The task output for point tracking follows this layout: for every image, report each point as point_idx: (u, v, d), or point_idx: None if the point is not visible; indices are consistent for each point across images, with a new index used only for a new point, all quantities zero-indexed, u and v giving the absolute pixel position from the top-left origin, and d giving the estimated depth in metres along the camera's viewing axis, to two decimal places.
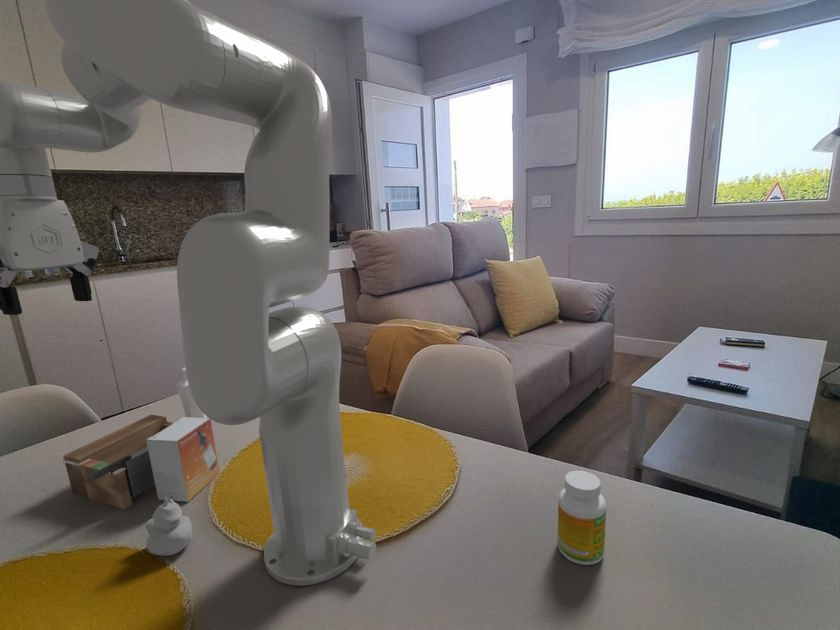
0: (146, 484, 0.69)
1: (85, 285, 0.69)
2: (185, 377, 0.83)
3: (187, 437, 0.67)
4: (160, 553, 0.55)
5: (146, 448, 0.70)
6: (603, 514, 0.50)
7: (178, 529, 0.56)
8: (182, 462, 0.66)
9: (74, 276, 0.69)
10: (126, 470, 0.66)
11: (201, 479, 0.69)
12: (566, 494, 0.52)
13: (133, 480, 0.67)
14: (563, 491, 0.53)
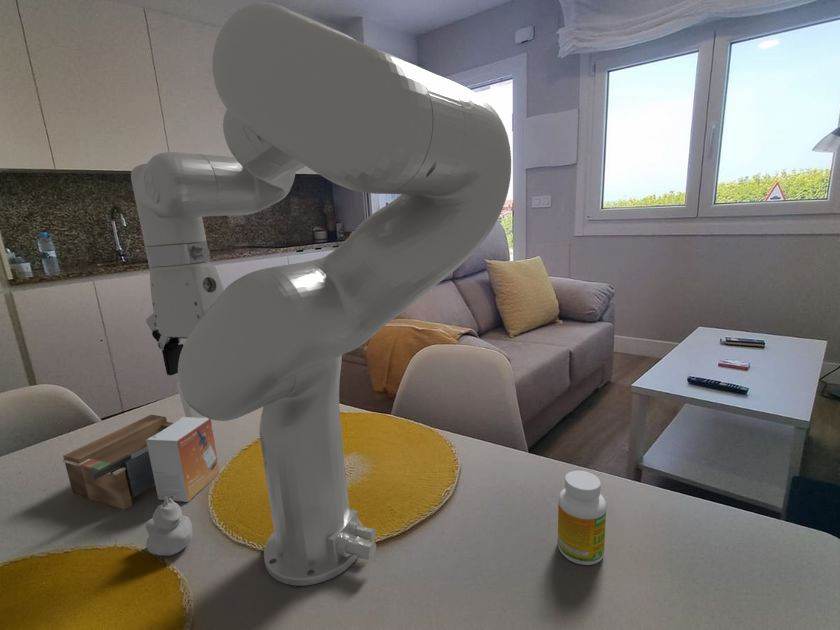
0: (146, 484, 0.69)
1: None
2: None
3: (187, 437, 0.67)
4: (160, 553, 0.55)
5: (146, 448, 0.70)
6: (603, 514, 0.50)
7: (178, 529, 0.56)
8: (182, 462, 0.66)
9: (170, 347, 0.64)
10: (126, 470, 0.66)
11: (201, 479, 0.69)
12: (566, 494, 0.52)
13: (133, 480, 0.67)
14: (563, 491, 0.53)
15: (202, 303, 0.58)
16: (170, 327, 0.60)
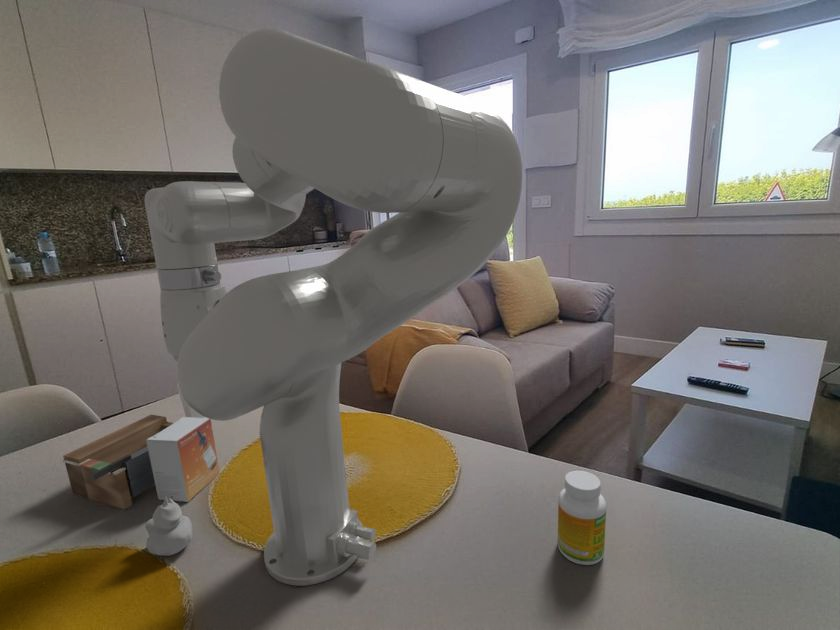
0: (146, 484, 0.69)
1: None
2: None
3: (187, 437, 0.67)
4: (160, 553, 0.55)
5: (146, 448, 0.70)
6: (603, 514, 0.50)
7: (178, 529, 0.56)
8: (182, 462, 0.66)
9: None
10: (126, 470, 0.66)
11: (201, 479, 0.69)
12: (566, 494, 0.52)
13: (133, 480, 0.67)
14: (563, 491, 0.53)
15: None
16: (179, 347, 0.61)
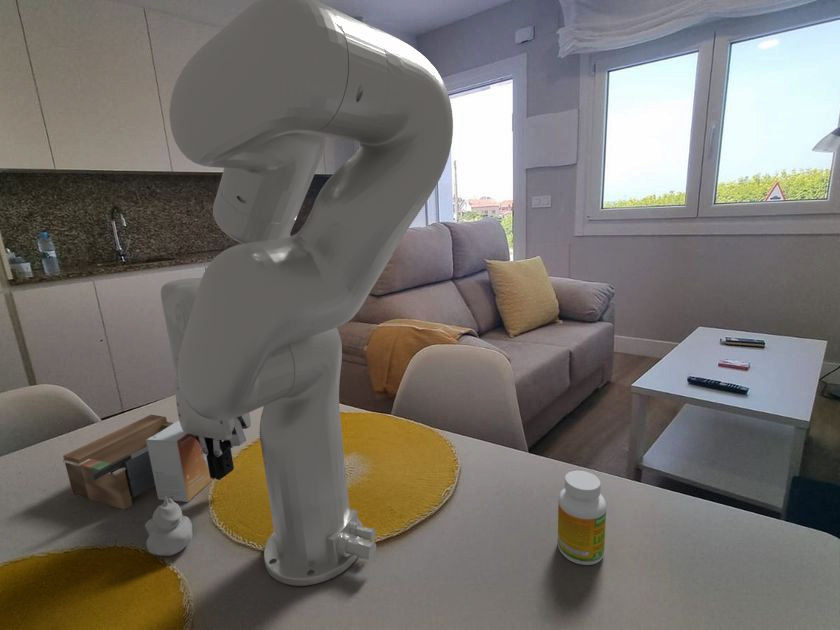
0: (146, 484, 0.69)
1: None
2: None
3: (187, 437, 0.67)
4: (160, 553, 0.55)
5: (146, 448, 0.70)
6: (603, 514, 0.50)
7: (178, 529, 0.56)
8: (182, 462, 0.66)
9: (214, 452, 0.66)
10: (126, 470, 0.66)
11: (201, 479, 0.69)
12: (566, 494, 0.52)
13: (133, 480, 0.67)
14: (563, 491, 0.53)
15: None
16: (193, 427, 0.64)
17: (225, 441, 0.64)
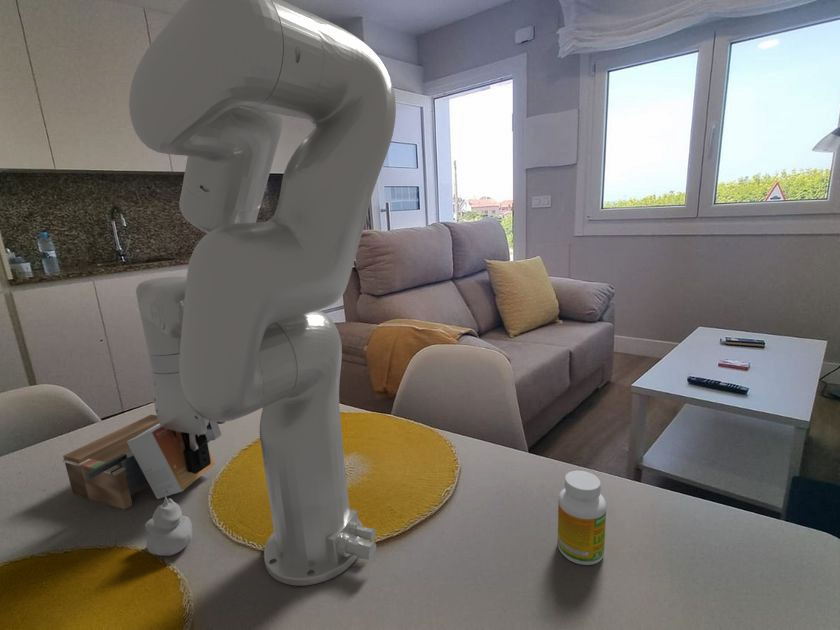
0: (142, 483, 0.69)
1: None
2: None
3: (164, 428, 0.67)
4: (160, 553, 0.55)
5: None
6: (603, 514, 0.50)
7: (178, 529, 0.56)
8: (164, 452, 0.66)
9: None
10: None
11: None
12: (566, 494, 0.52)
13: (128, 478, 0.67)
14: (563, 491, 0.53)
15: None
16: (170, 422, 0.66)
17: (201, 436, 0.66)
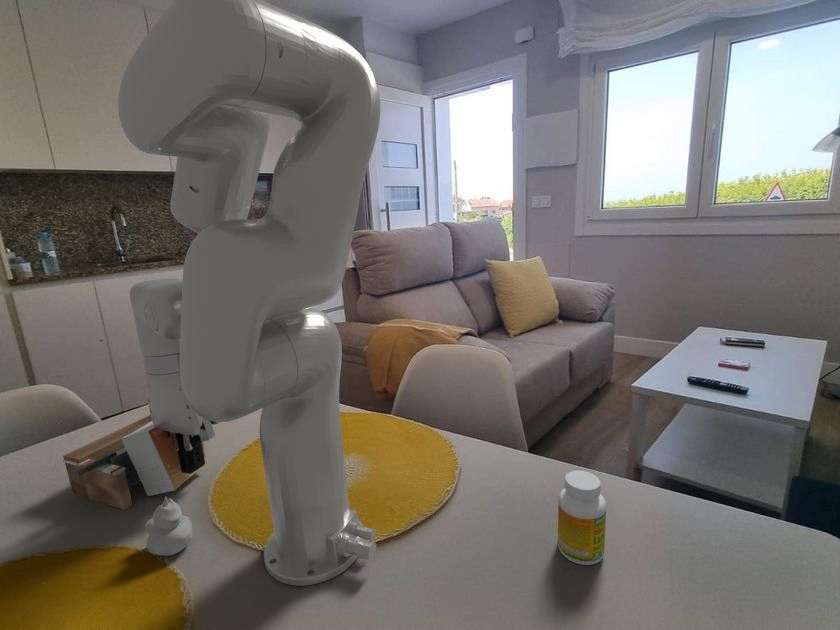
0: (131, 480, 0.70)
1: None
2: None
3: None
4: (160, 553, 0.55)
5: None
6: (603, 514, 0.50)
7: (178, 529, 0.56)
8: (159, 451, 0.67)
9: None
10: None
11: None
12: (566, 494, 0.52)
13: None
14: (563, 491, 0.53)
15: None
16: (164, 423, 0.66)
17: (195, 436, 0.66)
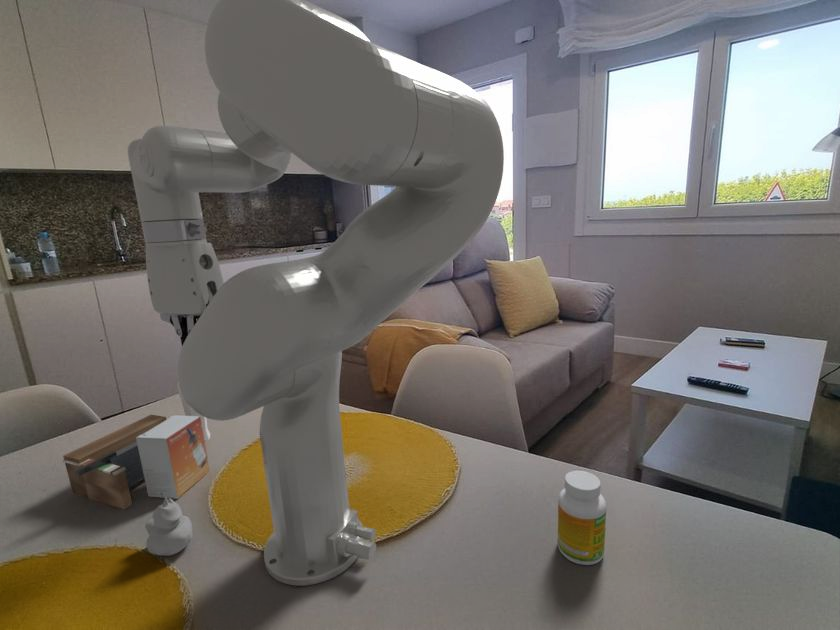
0: (131, 480, 0.70)
1: None
2: None
3: (177, 435, 0.68)
4: (160, 553, 0.55)
5: (131, 445, 0.71)
6: (603, 514, 0.50)
7: (178, 529, 0.56)
8: (171, 459, 0.66)
9: (188, 334, 0.63)
10: None
11: (191, 476, 0.70)
12: (566, 494, 0.52)
13: None
14: (563, 491, 0.53)
15: (198, 280, 0.58)
16: (166, 304, 0.61)
17: None
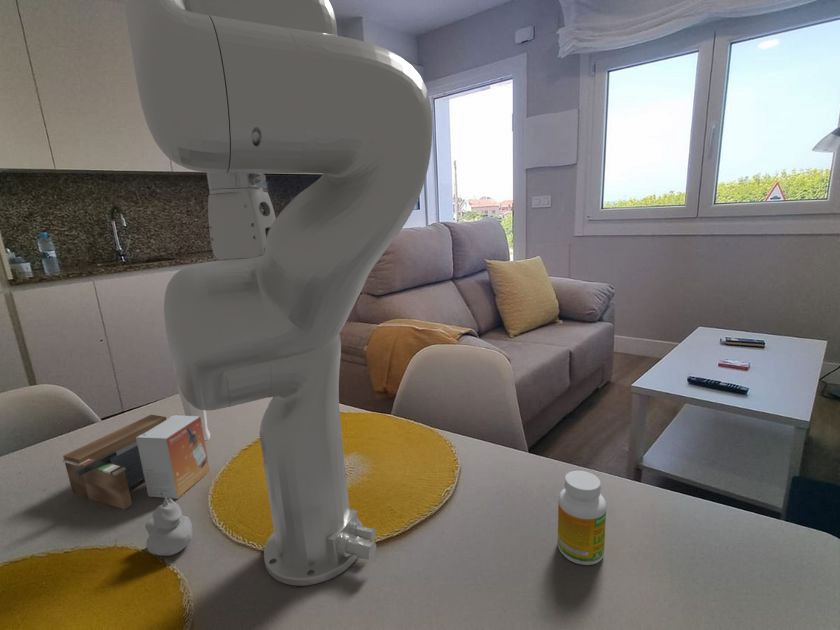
0: (131, 480, 0.70)
1: None
2: None
3: (177, 435, 0.68)
4: (160, 553, 0.55)
5: (131, 445, 0.71)
6: (603, 514, 0.50)
7: (178, 529, 0.56)
8: (171, 459, 0.66)
9: None
10: None
11: (191, 476, 0.70)
12: (566, 494, 0.52)
13: None
14: (563, 491, 0.53)
15: (258, 225, 0.63)
16: (226, 249, 0.66)
17: None
